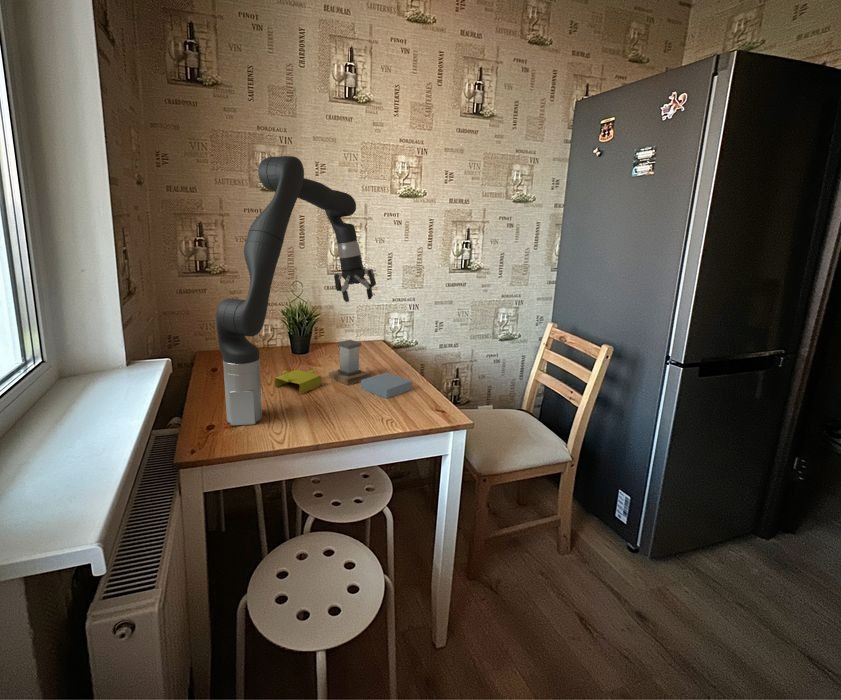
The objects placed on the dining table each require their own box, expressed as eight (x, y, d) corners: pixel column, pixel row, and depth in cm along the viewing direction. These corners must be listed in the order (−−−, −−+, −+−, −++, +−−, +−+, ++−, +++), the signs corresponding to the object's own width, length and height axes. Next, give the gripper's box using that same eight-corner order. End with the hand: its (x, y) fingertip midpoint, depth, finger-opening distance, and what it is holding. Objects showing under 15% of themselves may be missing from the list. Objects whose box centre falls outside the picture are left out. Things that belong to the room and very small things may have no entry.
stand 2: (411, 389, 163) (412, 381, 163) (386, 398, 155) (386, 389, 154) (386, 380, 171) (386, 372, 170) (360, 388, 162) (360, 380, 161)
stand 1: (369, 378, 172) (369, 373, 171) (347, 385, 164) (347, 379, 164) (350, 372, 178) (350, 366, 177) (328, 378, 171) (328, 372, 170)
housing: (360, 373, 171) (361, 342, 168) (348, 376, 167) (348, 345, 164) (350, 369, 174) (350, 339, 171) (337, 372, 170) (337, 342, 167)
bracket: (334, 363, 164) (304, 375, 151) (334, 385, 166) (304, 398, 153) (298, 355, 170) (267, 365, 158) (299, 376, 173) (268, 388, 160)
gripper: (326, 259, 168) (336, 305, 173) (366, 253, 165) (375, 300, 170) (334, 256, 175) (343, 300, 180) (372, 250, 172) (380, 295, 177)
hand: (358, 300), depth 175 cm, fingers open, 8 cm apart
